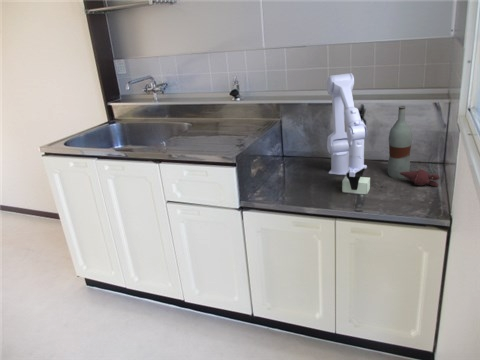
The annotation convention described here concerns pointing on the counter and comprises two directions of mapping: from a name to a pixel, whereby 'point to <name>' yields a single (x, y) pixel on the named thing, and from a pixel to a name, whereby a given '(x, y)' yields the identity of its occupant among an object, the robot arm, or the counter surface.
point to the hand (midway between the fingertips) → (356, 186)
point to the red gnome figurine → (421, 177)
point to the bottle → (399, 146)
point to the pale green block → (362, 185)
